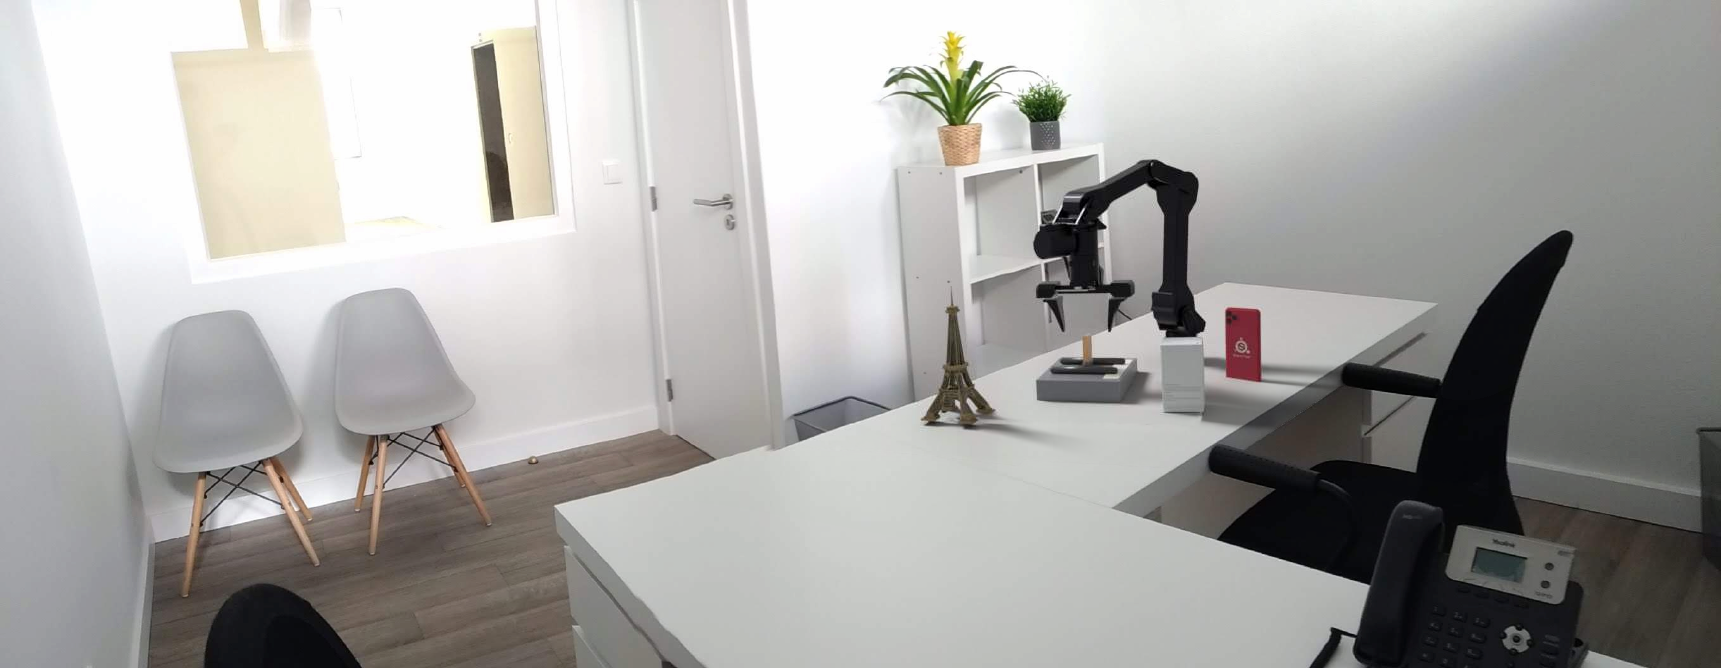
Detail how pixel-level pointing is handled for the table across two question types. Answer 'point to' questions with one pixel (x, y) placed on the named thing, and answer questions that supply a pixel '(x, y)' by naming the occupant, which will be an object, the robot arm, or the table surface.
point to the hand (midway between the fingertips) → (1086, 331)
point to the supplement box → (1183, 374)
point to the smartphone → (1243, 343)
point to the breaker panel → (1087, 380)
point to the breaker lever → (1087, 351)
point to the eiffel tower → (956, 379)
